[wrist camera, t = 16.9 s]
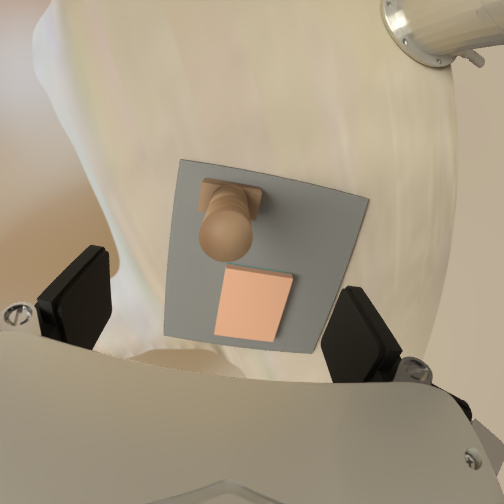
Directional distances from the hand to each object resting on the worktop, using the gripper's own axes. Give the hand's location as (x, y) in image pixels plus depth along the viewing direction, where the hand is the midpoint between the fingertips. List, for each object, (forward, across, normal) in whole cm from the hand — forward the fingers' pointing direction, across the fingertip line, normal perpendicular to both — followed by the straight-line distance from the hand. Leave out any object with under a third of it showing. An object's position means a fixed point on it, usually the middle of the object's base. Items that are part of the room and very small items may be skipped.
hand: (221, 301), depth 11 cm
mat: (+22, -5, +10) cm, 25 cm away
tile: (+21, -5, +14) cm, 26 cm away
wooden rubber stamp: (+22, 0, +1) cm, 22 cm away
